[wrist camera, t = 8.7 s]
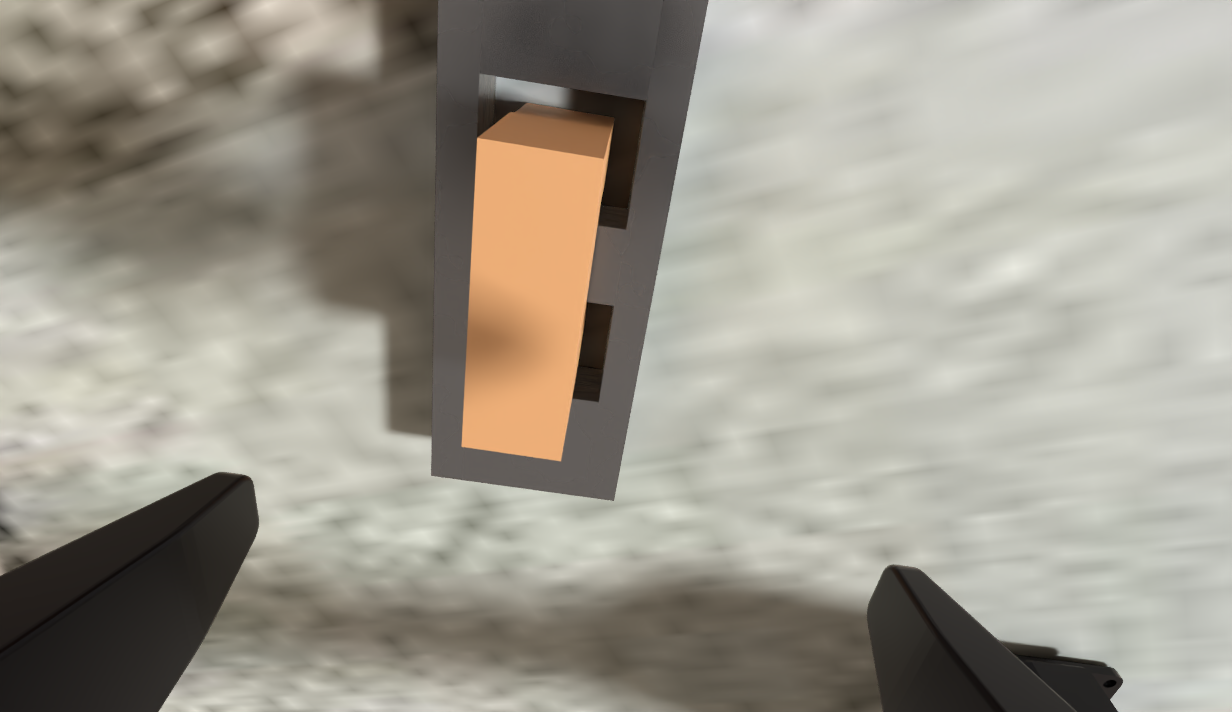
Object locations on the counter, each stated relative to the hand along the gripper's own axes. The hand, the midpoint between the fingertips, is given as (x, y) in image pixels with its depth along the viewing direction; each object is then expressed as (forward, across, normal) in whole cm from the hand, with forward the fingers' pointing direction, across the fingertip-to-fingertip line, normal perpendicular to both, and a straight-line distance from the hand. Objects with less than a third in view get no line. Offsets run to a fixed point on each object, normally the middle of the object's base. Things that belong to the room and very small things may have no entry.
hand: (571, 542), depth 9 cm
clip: (+12, +2, -1) cm, 12 cm away
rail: (+12, +2, -1) cm, 12 cm away
